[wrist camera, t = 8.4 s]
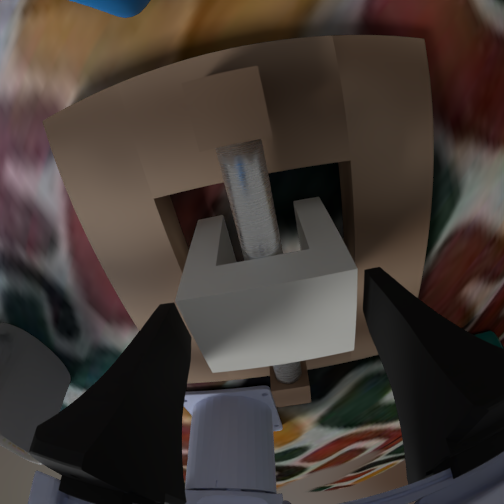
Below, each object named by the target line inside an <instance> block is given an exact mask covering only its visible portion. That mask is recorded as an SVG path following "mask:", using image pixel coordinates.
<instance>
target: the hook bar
mask: <svg viewBox="0 0 504 504" xmlns="http://www.w3.org/2000/svg"><path fill="white" fill-rule="evenodd" d="M215 149H216V153H217V157H218V161H219V165H220V169H221V172H222V176H223V180H224V184H225V188H226V192H227V196H228V200H229V203H230V207H231V211H232V215H233V219H234V223H235V226H236V230H237V234H238V238H239V242H240V245H241V249H242V253H243V257H244V261H247V260H252V259H258V258H264V257H269V256H274V255H280V254H283V251H282V245H281V240H280V234H279V229H278V223H277V218H276V212H275V207H274V201H273V196H272V191H271V186H270V181H269V175H268V170H267V165H266V160H265V155H264V150H263V145H262V140H261V139H257V140H252V141H247V142H242V143H237V144H232V145H228V146H223V147H219V148H215ZM273 368H274V372H275V375H276V378H277V380H278V381H279V382H281V383H283V384H292V383H295V382H296V381H298V380H299V379H300V377H301V374H302V370H301V363H300V361H298V362H293V363H286V364H280V365H274V366H273Z"/></svg>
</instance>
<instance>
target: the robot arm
mask: <svg viewBox="0 0 504 504" xmlns="http://www.w3.org/2000/svg"><path fill="white" fill-rule="evenodd" d="M363 313H364V316H365V320H366V323H367V326H368V330H369V333H370V335H371V338H372V340H373V342H374V345H375V347H376V349H377V352H378V354H379V357H380V359H381V361H382V364H383V366H384V369H385V371H386V374H387V376H388V379H389V382H390V385H391V388H392V391H393V395H394V399H395V403H396V407H397V412H398V417H399V421H400V426H401V432H402V438H403V444H404V451H405V460H406V470H407V480H408V485H406V486H403V487H400V488H397V489H394V490H391V491H388V492H384V493H381V494H377V495H374V496H370V497H367V498H362V499H358V500H353V501H349V502H344V503H339V504H408V503H411V502H414V501H416V500H417V501H416V502H415V503H414V504H504V349H503V348H500V347H498V346H495V345H493V344H491V343H488V342H486V341H484V340H482V339H480V338H478V337H476V336H474V335H472V334H471V333H469V332H467V331H465V330H463V329H462V328H460V327H458V326H457V325H455V324H453V323H452V322H450V321H449V320H447V319H445V318H444V317H442V316H441V315H440V314H438V313H437V312H435V311H434V310H433V309H431V308H430V307H428V306H427V305H426V304H424V303H423V302H422V301H421V300H419V299H418V298H417V297H416V296H414V295H413V294H412V293H411V292H409V291H408V290H407V289H406V288H404V287H403V286H402V285H401V284H400V283H399V282H397V281H396V280H395V279H394V278H393V277H391V276H390V275H389V274H388V273H387V272H385V271H384V270H383V269H382V268H381V267H375V268H371V269H366V270H364V293H363ZM191 340H192V337H191V335H190V333H189V331H188V329H187V327H186V326H185V324H184V322H183V320H182V318H181V315H180V313H179V311H178V309H177V307H176V305H175V303H174V302H173V303H165V304H160V305H159V306H158V307H157V309H156V310H155V311H154V312H153V314H152V315H151V316H150V318H149V319H148V320H147V322H146V323H145V324H144V326H143V327H142V328H141V330H140V331H139V332H138V334H137V335H136V336H135V338H134V339H133V340H132V342H131V343H130V344H129V345H128V347H127V348H126V349H125V350H124V352H123V353H122V354H121V355H120V357H119V358H118V359H117V360H116V361H115V363H114V364H113V365H112V366H111V367H110V368H109V369H108V370H107V372H106V373H105V374H104V375H103V376H102V377H101V378H100V379H99V380H98V381H97V382H96V383H95V384H94V385H92V386H91V387H90V388H89V389H88V390H87V391H86V392H85V393H84V394H82V395H81V396H80V397H79V398H78V399H77V400H75V401H74V402H73V403H71V404H70V405H69V406H68V407H66V408H65V409H63V410H62V411H61V412H59V413H58V414H56V415H55V416H53V417H51V418H50V419H48V420H46V421H45V422H43V423H42V424H40V425H38V426H37V428H36V431H35V434H34V437H33V440H32V443H31V446H30V450H29V454H30V455H31V456H32V457H33V458H34V459H35V460H37V461H39V462H40V463H42V464H44V465H45V466H47V467H48V468H50V469H52V470H54V471H56V472H57V473H59V474H61V475H62V477H61V480H59V479H56V478H54V477H52V476H49V475H47V474H44V473H42V472H39V471H36V472H35V475H34V479H33V483H32V487H31V491H30V496H29V501H28V504H291V503H290V502H289V501H283V497H282V494H276V475H275V456H274V439H273V431H279V430H282V423H281V420H280V417H279V414H278V411H277V408H276V405H275V402H274V399H273V396H272V393H271V390H270V387H269V386H266V385H261V386H253V387H243V388H233V389H221V390H207V391H187V392H186V387H187V381H188V375H189V369H190V362H191ZM183 406H184V407H185V408H186V409H187V410H188V411H189V413H190V414H191V415H192V421H191V431H190V441H189V451H188V461H187V473H186V485H185V487H184V478H183V465H182V414H183Z"/></svg>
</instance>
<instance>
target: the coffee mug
mask: <svg viewBox="0 0 504 504" xmlns="http://www.w3.org/2000/svg"><path fill="white" fill-rule="evenodd" d="M70 381H71V377H70V374H69V372H68V370H67V368H66V367H65V365H64V364H63V362H62V361H61V360H60V359H59V358H58V357H57V356H56V355H55V354H54V353H53V352H52V351H51V350H50V349H49V348H48V347H47V346H45V345H44V344H43V343H42V342H41V341H39V340H38V339H37V338H35V337H34V336H32V335H31V334H29V333H28V332H26V331H24V330H22V329H20V328H18V327H16V326H14V325H11V324H7V323H0V445H1V446H3V447H4V448H6V449H8V450H9V451H11V452H13V453H15V454H17V455H19V456H20V457H22V458H24V459H27V460H29V461H31V462H33V463H36V464H39V465H43V464H42V463H40V462H39V461H37V460H35V459H34V458H33V457H32V456H31V455H30V454H29V450H30V446H31V443H32V440H33V437H34V434H35V431H36V428H37V426H38V425H40V424H42V423H43V422H45V421H46V420H48V419H50V418H51V417H53V416H55V415H56V414H58V413H59V411H60V409H61V406H62V403H63V400H64V397H65V395H66V392H67V389H68V387H69V384H70Z"/></svg>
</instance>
